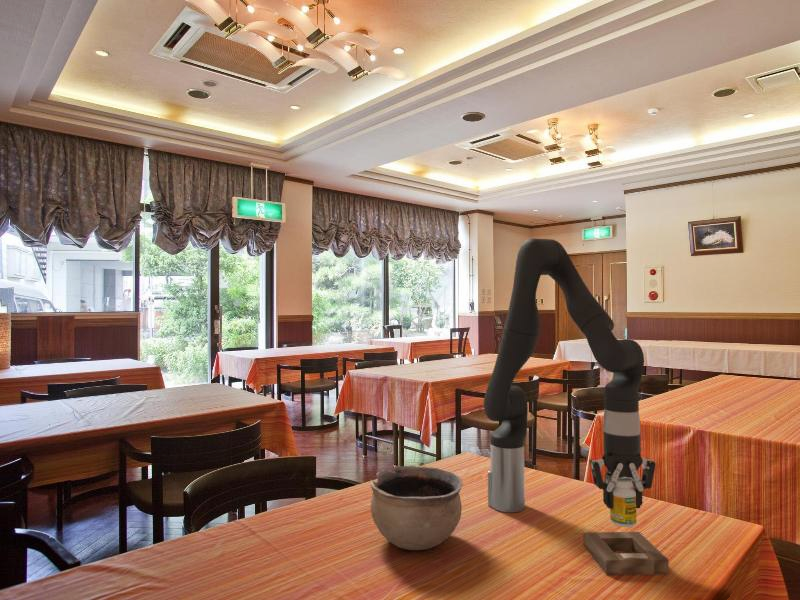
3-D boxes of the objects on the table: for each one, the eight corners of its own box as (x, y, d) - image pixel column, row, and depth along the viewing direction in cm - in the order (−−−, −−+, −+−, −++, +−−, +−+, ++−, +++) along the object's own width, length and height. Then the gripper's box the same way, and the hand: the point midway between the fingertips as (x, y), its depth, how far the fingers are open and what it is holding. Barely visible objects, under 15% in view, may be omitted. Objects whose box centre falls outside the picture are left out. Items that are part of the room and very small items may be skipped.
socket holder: (606, 574, 107) (606, 559, 107) (583, 545, 120) (583, 531, 120) (668, 574, 107) (668, 558, 107) (639, 544, 120) (638, 530, 120)
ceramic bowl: (396, 516, 137) (396, 460, 137) (475, 531, 127) (474, 471, 127) (353, 553, 117) (352, 487, 117) (442, 574, 107) (442, 502, 108)
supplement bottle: (619, 515, 117) (618, 473, 117) (641, 524, 112) (641, 480, 113) (605, 521, 114) (604, 478, 114) (627, 530, 109) (626, 484, 110)
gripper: (595, 434, 110) (597, 514, 109) (662, 433, 110) (664, 513, 110) (583, 426, 117) (584, 501, 117) (645, 425, 117) (647, 500, 117)
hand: (623, 506), depth 113 cm, fingers closed on supplement bottle, 5 cm apart
